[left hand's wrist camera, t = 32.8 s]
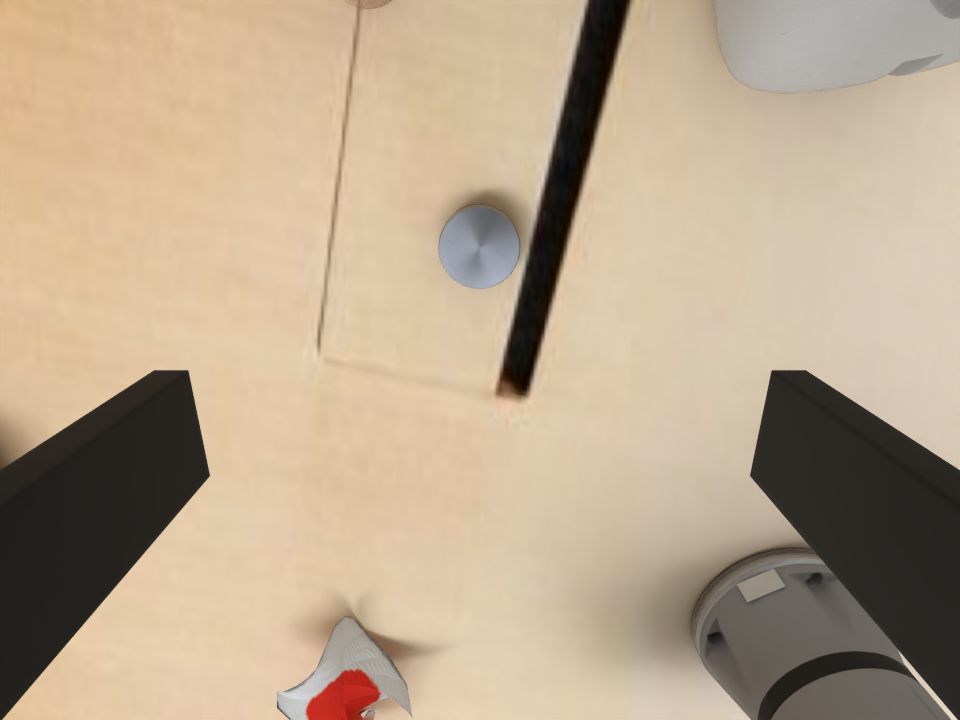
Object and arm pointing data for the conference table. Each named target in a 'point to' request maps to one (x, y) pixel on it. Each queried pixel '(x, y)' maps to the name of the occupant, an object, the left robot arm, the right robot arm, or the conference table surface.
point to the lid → (479, 246)
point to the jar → (368, 3)
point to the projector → (834, 41)
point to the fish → (346, 680)
